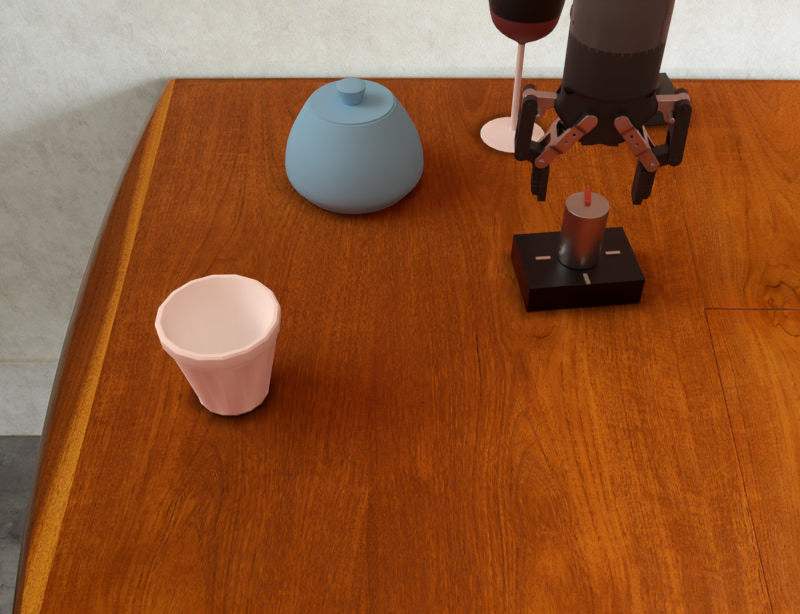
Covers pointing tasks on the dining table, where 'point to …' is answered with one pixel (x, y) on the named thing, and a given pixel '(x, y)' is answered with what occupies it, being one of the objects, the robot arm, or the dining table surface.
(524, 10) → the wineglass
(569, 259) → the knob
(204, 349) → the cup
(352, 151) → the sugar bowl
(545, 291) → the panel
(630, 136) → the robot arm
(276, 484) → the dining table surface
